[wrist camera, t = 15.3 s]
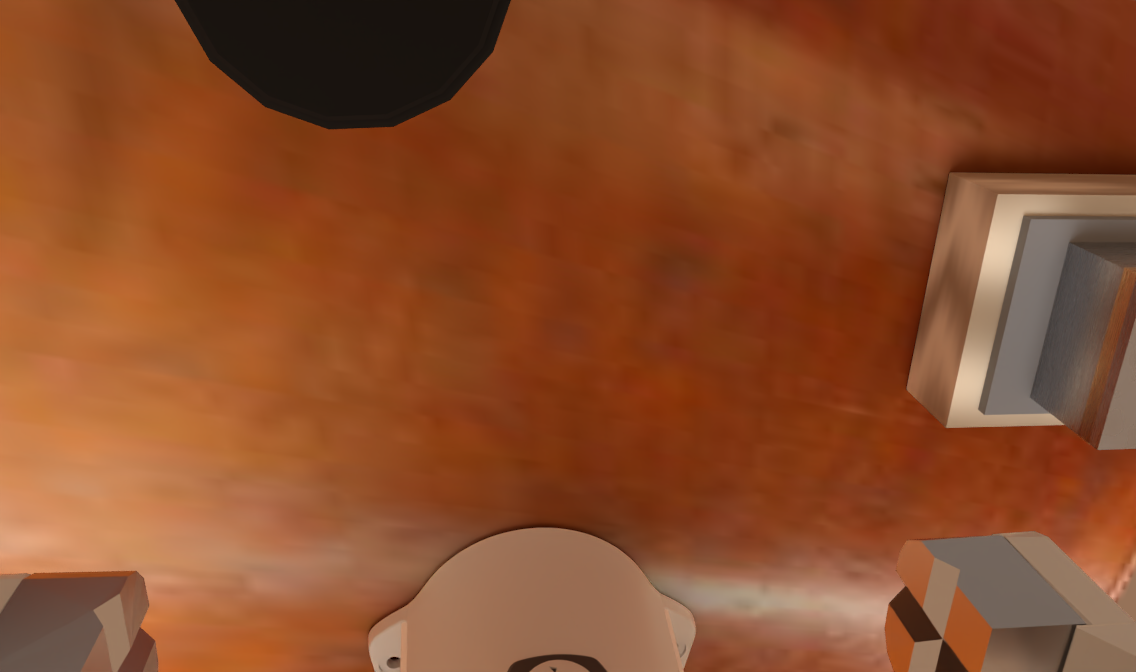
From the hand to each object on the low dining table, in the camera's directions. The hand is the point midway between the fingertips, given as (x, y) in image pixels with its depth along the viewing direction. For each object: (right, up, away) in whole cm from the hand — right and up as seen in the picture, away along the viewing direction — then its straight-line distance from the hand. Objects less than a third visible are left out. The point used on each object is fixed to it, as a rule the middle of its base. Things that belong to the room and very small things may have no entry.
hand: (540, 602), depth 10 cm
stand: (+25, +6, +39) cm, 47 cm away
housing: (+26, +4, +35) cm, 43 cm away
